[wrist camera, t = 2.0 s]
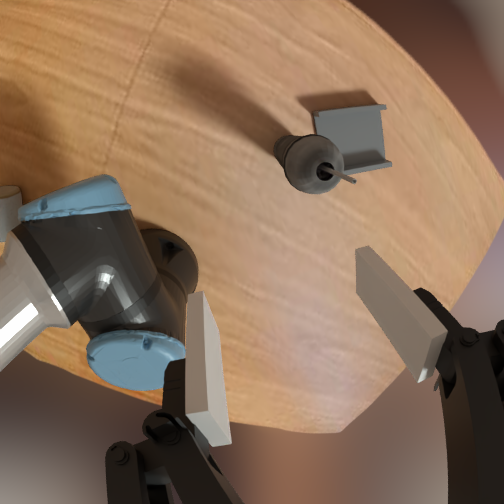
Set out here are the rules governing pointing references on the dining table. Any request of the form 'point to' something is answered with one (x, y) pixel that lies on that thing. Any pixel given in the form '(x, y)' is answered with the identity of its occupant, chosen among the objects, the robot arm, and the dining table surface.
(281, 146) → the beverage cup
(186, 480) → the robot arm
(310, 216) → the dining table surface
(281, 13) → the dining table surface
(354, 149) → the cradle
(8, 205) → the ceramic mug
